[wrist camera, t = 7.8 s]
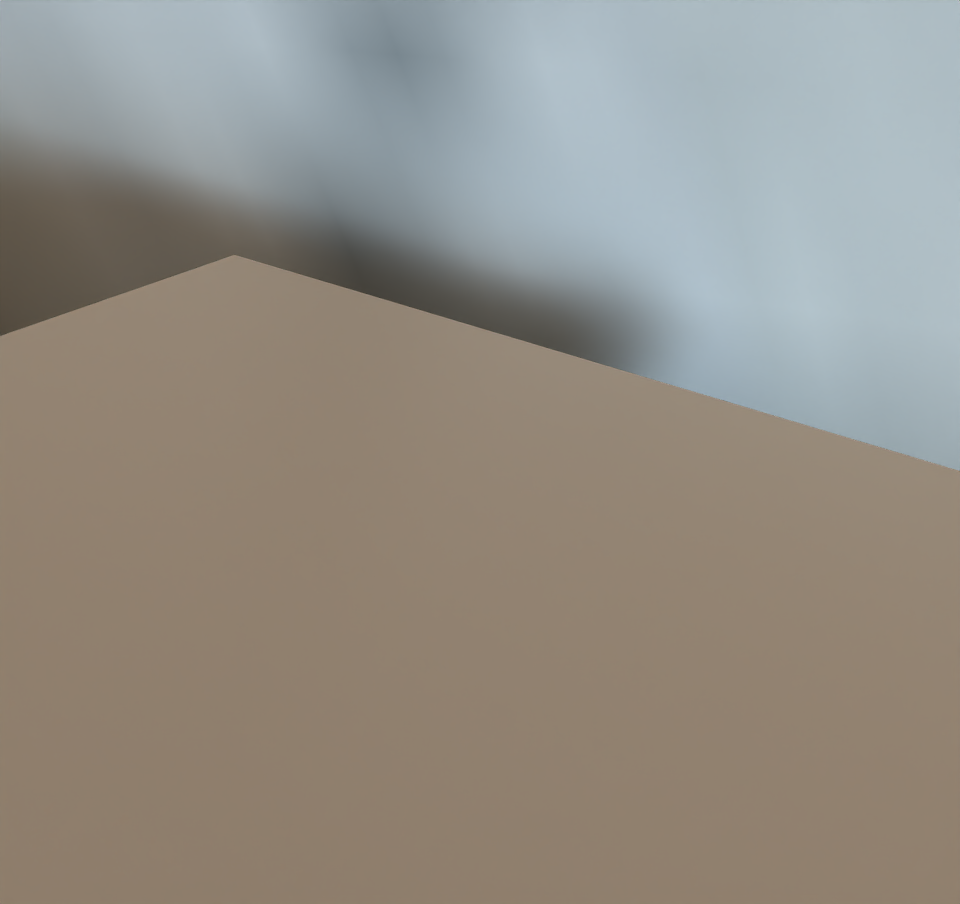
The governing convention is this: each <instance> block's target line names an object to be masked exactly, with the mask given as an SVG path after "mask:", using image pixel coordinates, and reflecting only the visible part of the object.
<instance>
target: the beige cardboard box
mask: <svg viewBox="0 0 960 904" xmlns="http://www.w3.org/2000/svg"><path fill="white" fill-rule="evenodd" d="M0 904H960V471H958V470H955V469H951V468H948V467H945V466H941V465H938V464H935V463H931V462H928V461H924V460H921V459H918V458H914V457H911V456H908V455H904V454H901V453H898V452H894V451H891V450H888V449H884V448H881V447H878V446H874V445H871V444H867V443H864V442H861V441H857V440H854V439H851V438H847V437H844V436H841V435H837V434H834V433H831V432H827V431H824V430H820V429H817V428H814V427H810V426H807V425H804V424H800V423H797V422H794V421H790V420H787V419H784V418H780V417H777V416H774V415H770V414H767V413H763V412H760V411H757V410H753V409H750V408H747V407H743V406H740V405H737V404H733V403H730V402H727V401H723V400H720V399H717V398H713V397H710V396H706V395H703V394H700V393H696V392H693V391H690V390H686V389H683V388H680V387H676V386H673V385H670V384H666V383H663V382H660V381H656V380H653V379H649V378H646V377H643V376H639V375H636V374H633V373H629V372H626V371H623V370H619V369H616V368H613V367H609V366H606V365H603V364H599V363H596V362H592V361H589V360H586V359H582V358H579V357H576V356H572V355H569V354H566V353H562V352H559V351H556V350H552V349H549V348H545V347H542V346H539V345H535V344H532V343H529V342H525V341H522V340H519V339H515V338H512V337H509V336H505V335H502V334H499V333H495V332H492V331H488V330H485V329H482V328H478V327H475V326H472V325H468V324H465V323H462V322H458V321H455V320H452V319H448V318H445V317H442V316H438V315H435V314H431V313H428V312H425V311H421V310H418V309H415V308H411V307H408V306H405V305H401V304H398V303H395V302H391V301H388V300H385V299H381V298H378V297H374V296H371V295H368V294H364V293H361V292H358V291H354V290H351V289H348V288H344V287H341V286H338V285H334V284H331V283H327V282H324V281H321V280H317V279H314V278H311V277H307V276H304V275H301V274H297V273H294V272H291V271H287V270H284V269H281V268H277V267H274V266H270V265H267V264H264V263H260V262H257V261H254V260H250V259H247V258H244V257H240V256H237V255H232V256H230V257H227V258H224V259H221V260H218V261H215V262H212V263H209V264H206V265H204V266H201V267H198V268H195V269H192V270H189V271H186V272H183V273H180V274H178V275H175V276H172V277H169V278H166V279H163V280H160V281H157V282H155V283H152V284H149V285H146V286H143V287H140V288H137V289H134V290H131V291H129V292H126V293H123V294H120V295H117V296H114V297H111V298H108V299H105V300H103V301H100V302H97V303H94V304H91V305H88V306H85V307H82V308H80V309H77V310H74V311H71V312H68V313H65V314H62V315H59V316H56V317H54V318H51V319H48V320H45V321H42V322H39V323H36V324H33V325H30V326H28V327H25V328H22V329H19V330H16V331H13V332H10V333H7V334H5V335H2V336H0Z"/></svg>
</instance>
